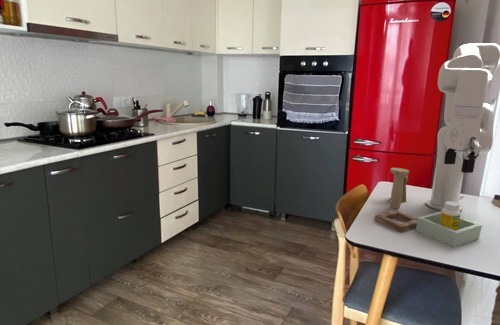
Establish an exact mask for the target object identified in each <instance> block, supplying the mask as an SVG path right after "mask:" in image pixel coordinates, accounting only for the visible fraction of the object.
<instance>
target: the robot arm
mask: <svg viewBox="0 0 500 325" xmlns="http://www.w3.org/2000/svg"><path fill="white" fill-rule="evenodd" d="M499 66H500V45H498V44H497V43H467V44H466V43H465V44H463V45H461V46H458V47H457V48H456V50H455V51H454V52H453V56H452V58H451V59H449V60H447V61H445V62H443V64H442V65H441V67H440V68H439V72H438V76H437V77H438V78H437V88H438V90H439V91H440V92H442V93H445V103H444V104H445V105H444V113H443V120H444V123H445V124H446V125H445V126H442V127H441V128H440V129H439V130H438V132H437V153H436V163H435V169H434V173H433V174H434V175H433V182H432V189H431V196H430V198H427V199H426V200H425V204H426V205H427V206H428V207H429V208H431V209H434V210H437V211H441V210H442V209H443V208H445V202H447V201H451V202H456V203H458V204H459V205H460V206H459V209H458V210H459V211H460V212H461V211H463V205H462V204H461V203H460V200H464V198H465V195H464V194H461V190H462V186H463V185H462V184H463V178H464V174H467V173H468V174H470V173H471V174H472V173H474V169H475V163H476V160H477V159H478V157H479V156H480V155H482V154H483V155H484V154H487V153H489V152H490V151H491V150H492V146H493V142H494V118H495V116H494V108H493V106H492V105H491V104H488V103H485V98H486V94H487V91H488V90H489V89H490V88H491V86H492V82H493V77H494V74H495V72H496V71H497V69H498V67H499ZM460 153H463V156H464V158H462V156H461V155H460Z"/></svg>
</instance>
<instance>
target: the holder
mask: <svg viewBox="0 0 500 325" xmlns="http://www.w3.org/2000/svg"><path fill="white" fill-rule="evenodd" d="M395 219H397V220H400V221H403V222H399V221H397V220H395ZM417 219H418V217H415V216H413V215H410V214H407V213H405V212H403V211H400V210H397V209H395V210H390V211H387V212H386V211H385V212H383V213H378V214H375V215H374V222H377V223H379V224H381V225H383V226H386V227H387V228H389V229H392V230H394V231H397V232H399V233H404V232H407V231H412V230H416V226H417Z"/></svg>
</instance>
